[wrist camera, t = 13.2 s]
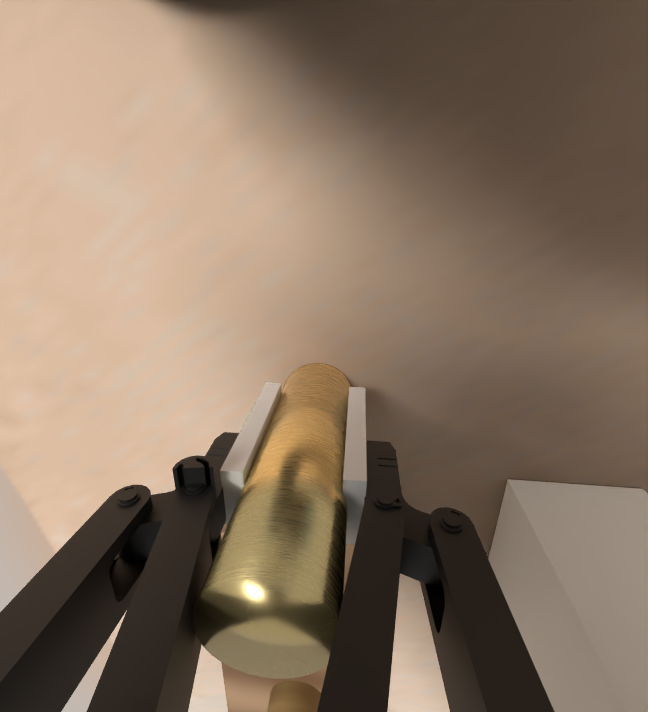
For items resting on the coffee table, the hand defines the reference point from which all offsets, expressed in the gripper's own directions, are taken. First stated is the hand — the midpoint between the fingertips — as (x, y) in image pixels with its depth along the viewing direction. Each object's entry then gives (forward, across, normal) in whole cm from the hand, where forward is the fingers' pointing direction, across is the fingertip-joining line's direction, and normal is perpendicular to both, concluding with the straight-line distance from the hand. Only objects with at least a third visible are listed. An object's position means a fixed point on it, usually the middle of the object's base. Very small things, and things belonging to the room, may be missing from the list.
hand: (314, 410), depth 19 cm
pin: (+2, 0, 0) cm, 2 cm away
